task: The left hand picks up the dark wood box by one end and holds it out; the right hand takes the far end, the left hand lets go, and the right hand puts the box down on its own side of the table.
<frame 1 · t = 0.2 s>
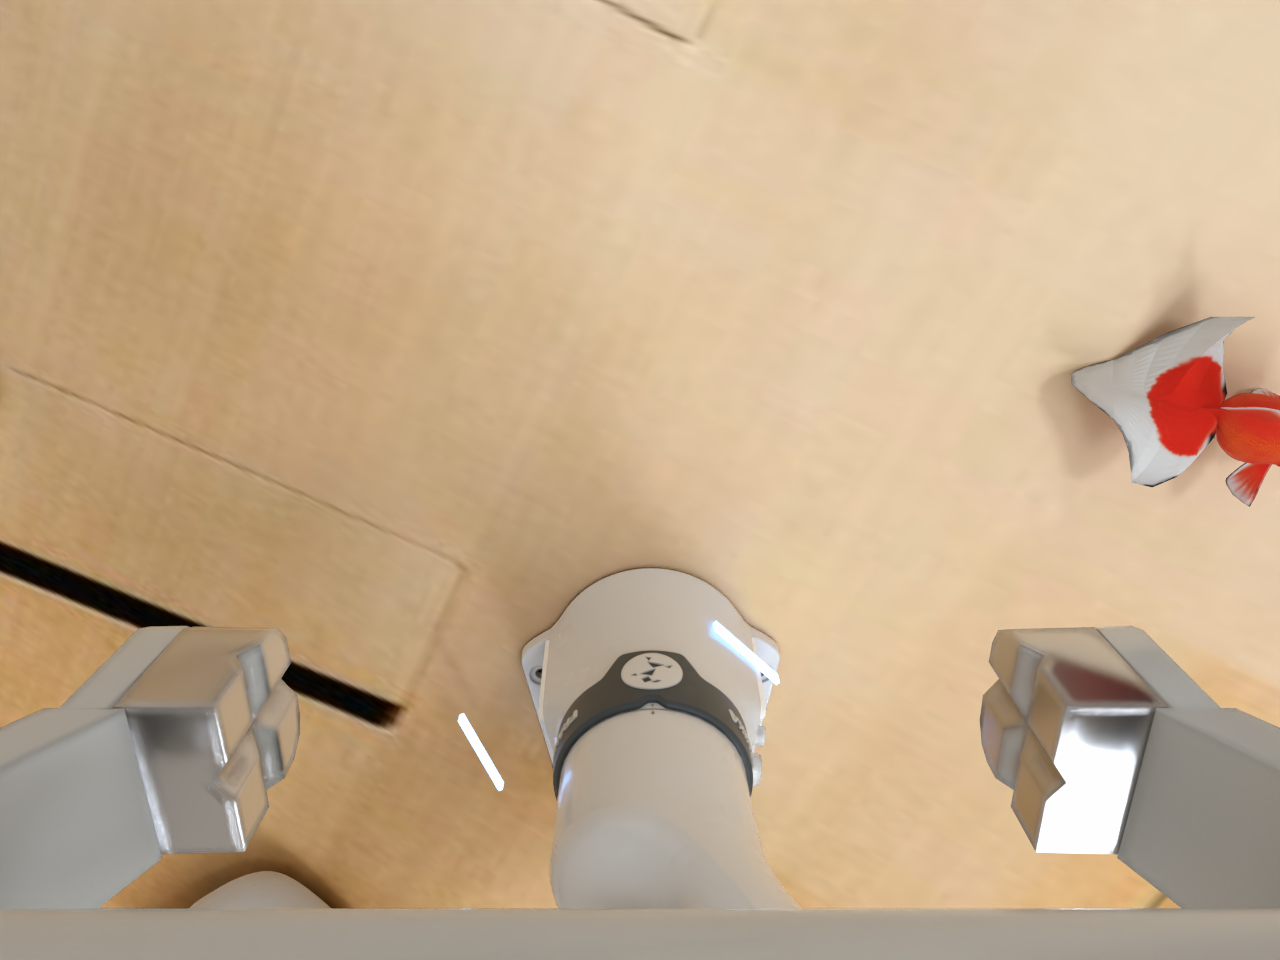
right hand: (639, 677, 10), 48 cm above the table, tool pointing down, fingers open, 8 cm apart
fish: (1167, 398, 59), on the table
grey rounded piece: (305, 953, 77), on the table
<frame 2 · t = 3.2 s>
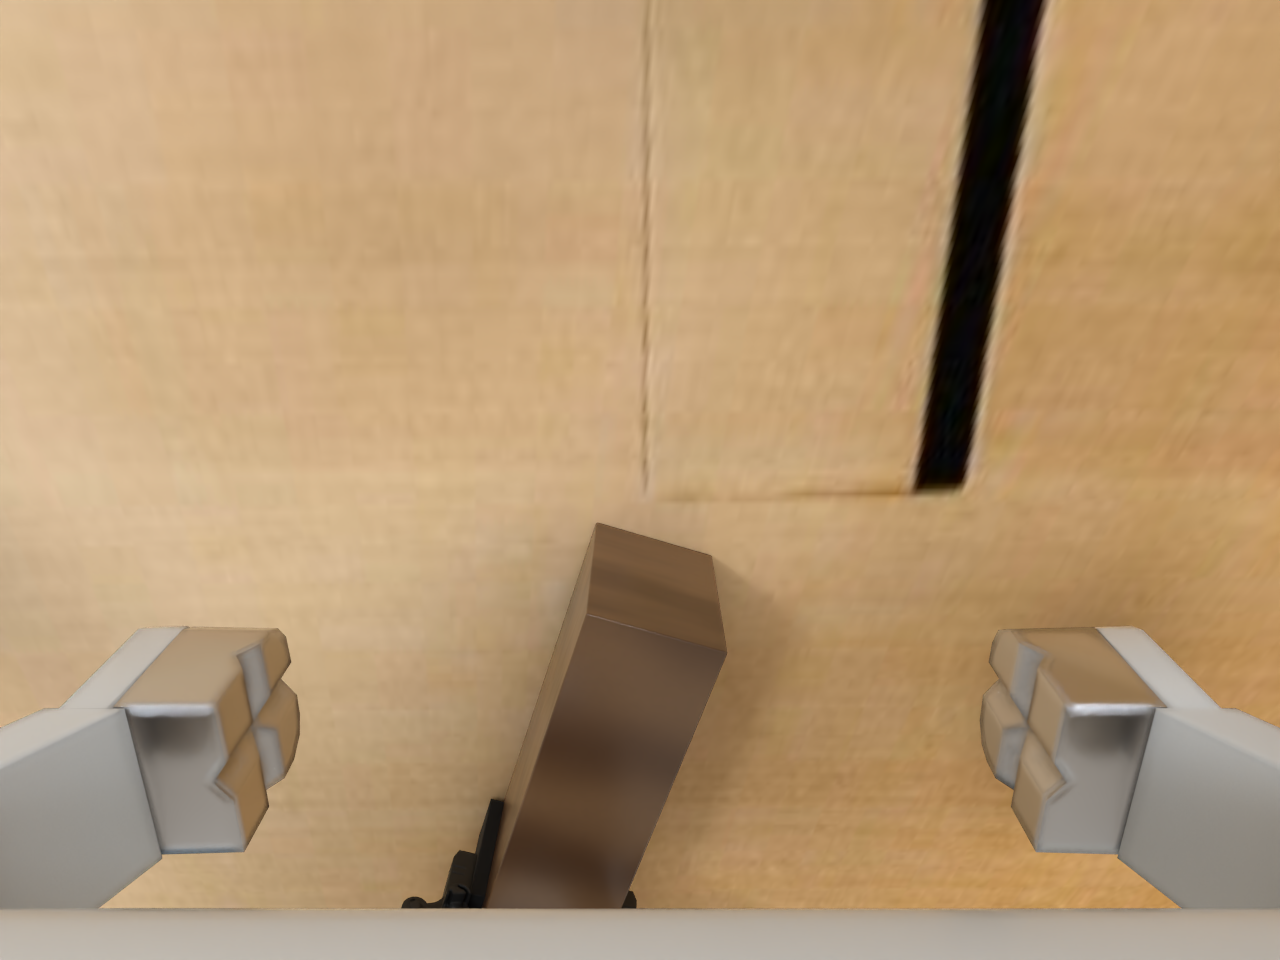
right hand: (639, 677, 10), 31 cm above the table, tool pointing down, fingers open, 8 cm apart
box: (589, 719, 48), on the table, touching left hand
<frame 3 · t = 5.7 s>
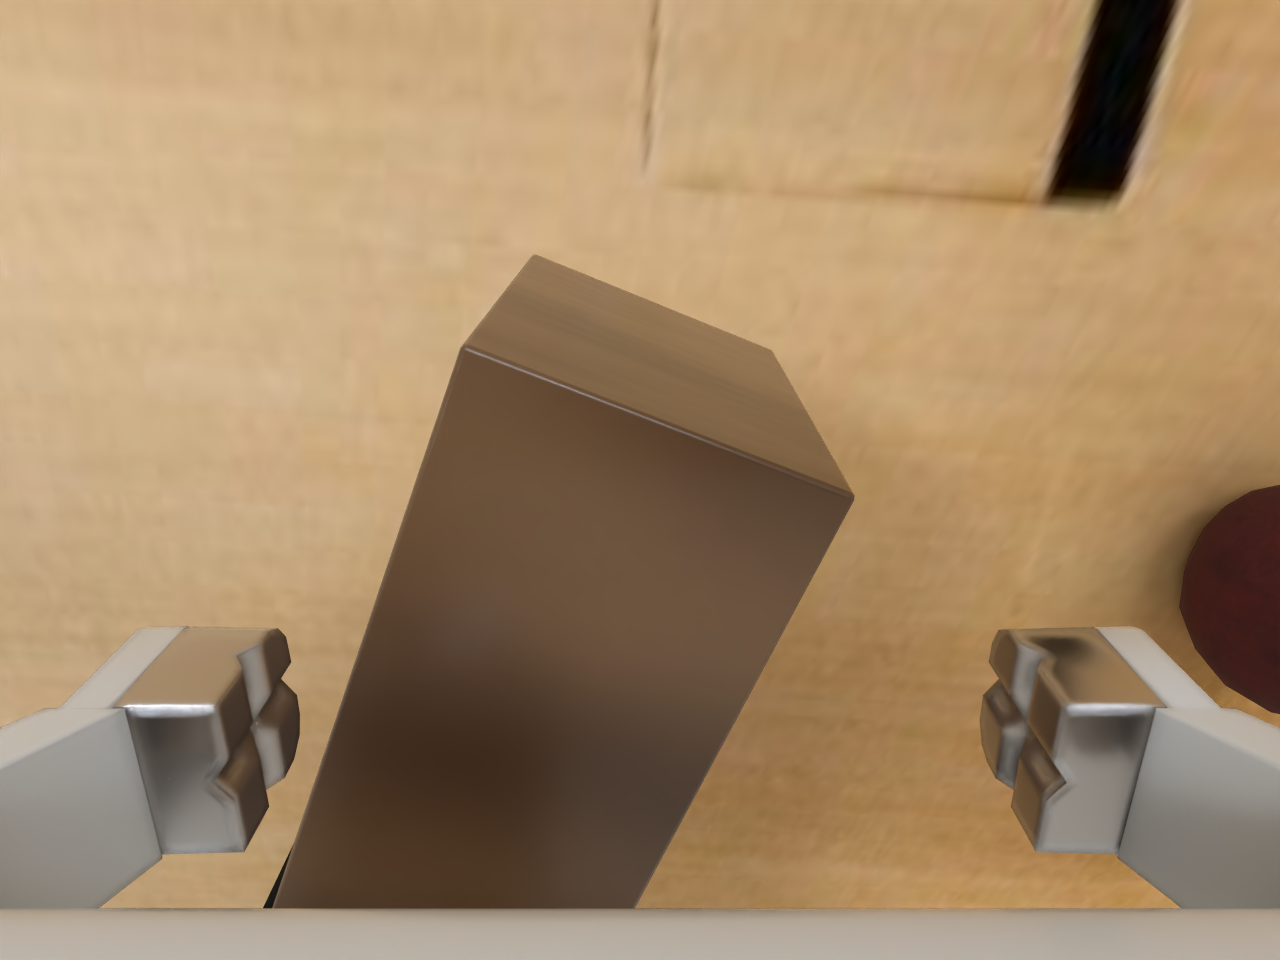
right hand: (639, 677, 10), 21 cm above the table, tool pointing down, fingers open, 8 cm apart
potato: (1238, 548, 33), on the table
box: (499, 683, 24), point 9 cm above the table, touching left hand
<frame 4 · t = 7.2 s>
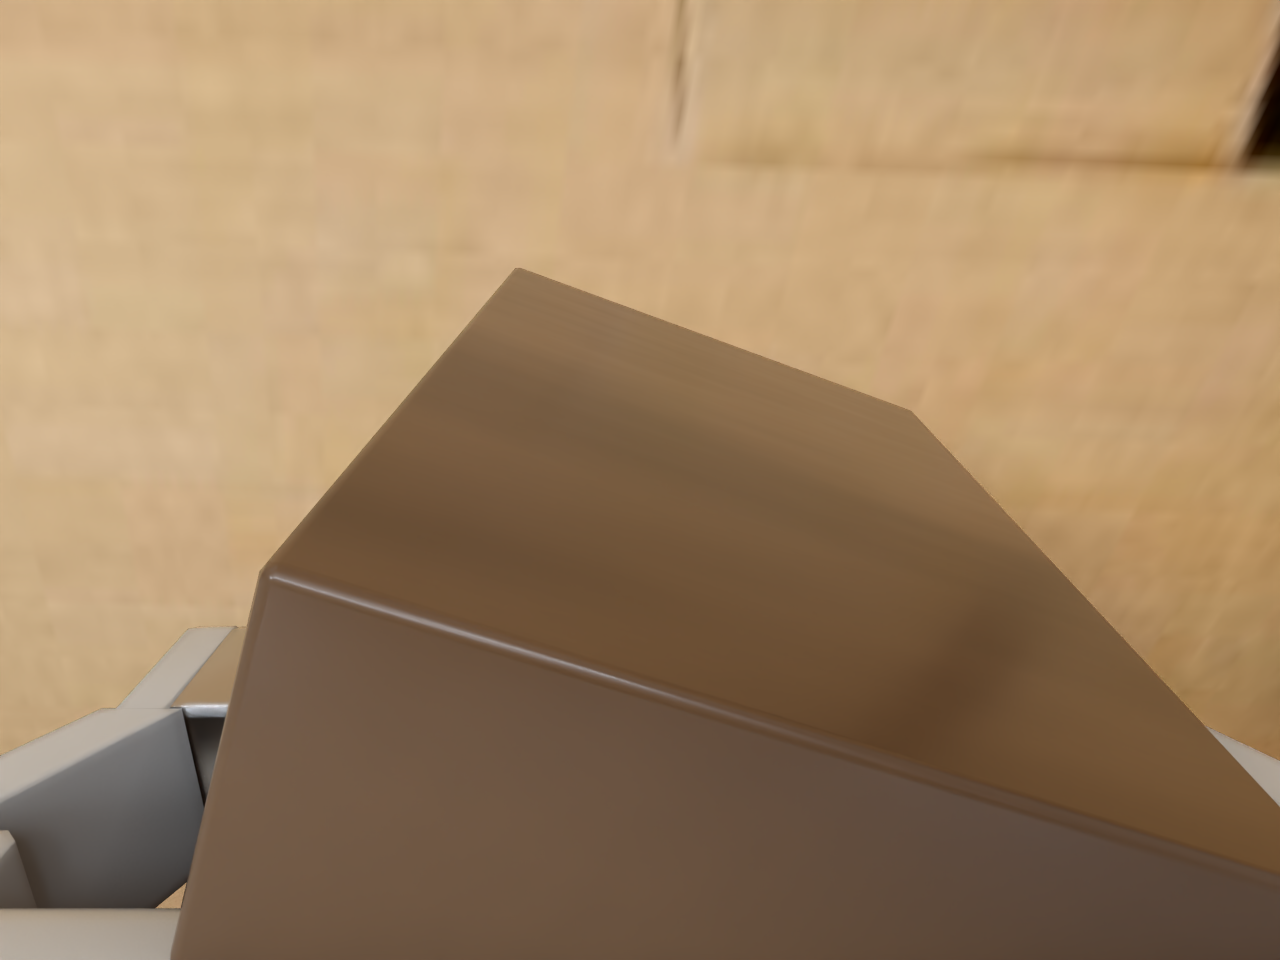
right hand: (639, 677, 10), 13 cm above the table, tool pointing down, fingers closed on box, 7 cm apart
box: (490, 909, 16), point 9 cm above the table, touching right hand, left hand
when the left hand's fingers open (10 cm above the table, at t = 8.2 s): box stays where it is, held by the right hand.
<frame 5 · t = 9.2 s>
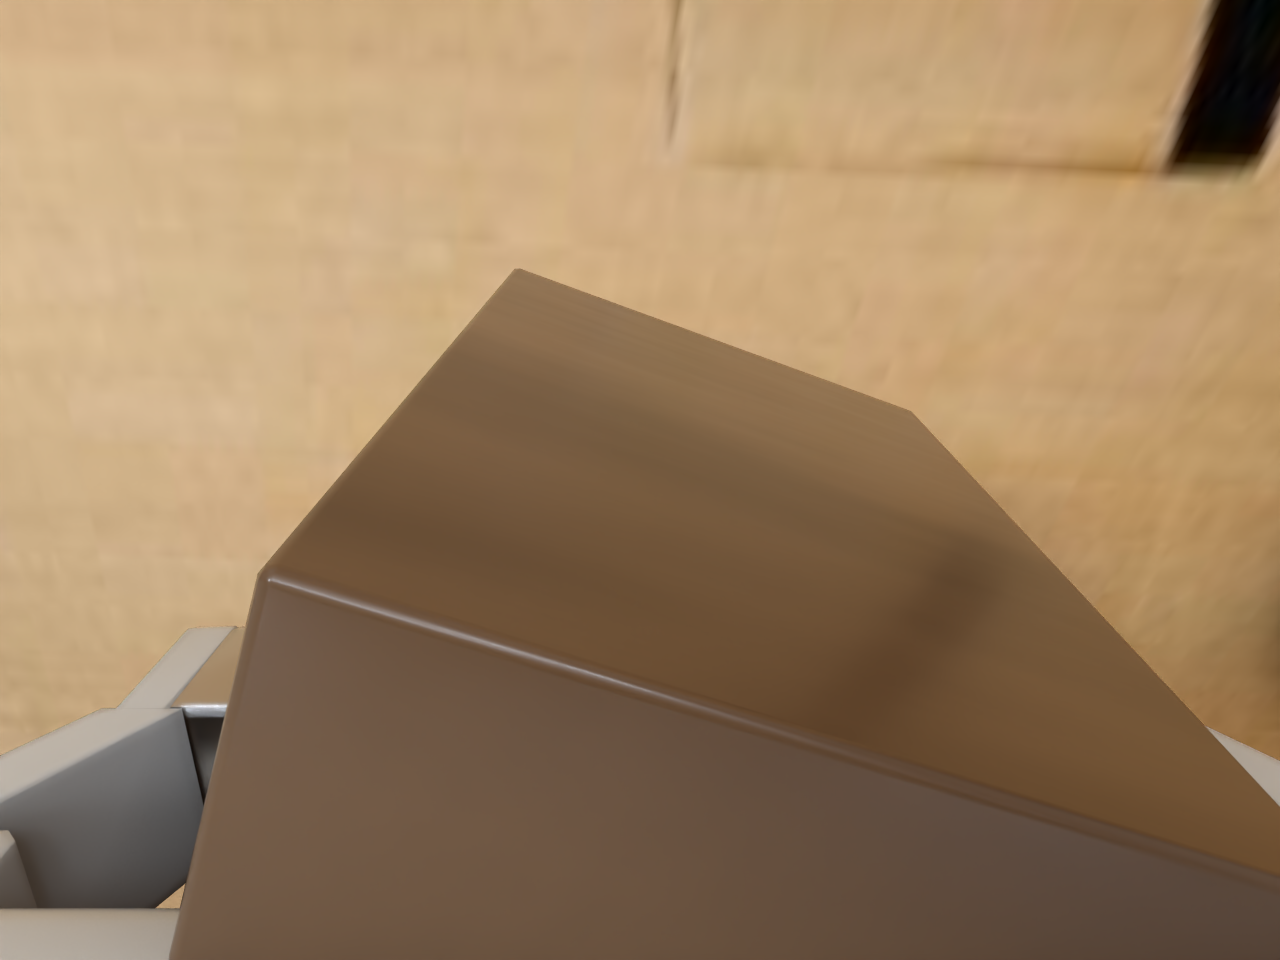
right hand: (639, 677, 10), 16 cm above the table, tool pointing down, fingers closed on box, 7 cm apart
box: (490, 910, 16), point 12 cm above the table, touching right hand
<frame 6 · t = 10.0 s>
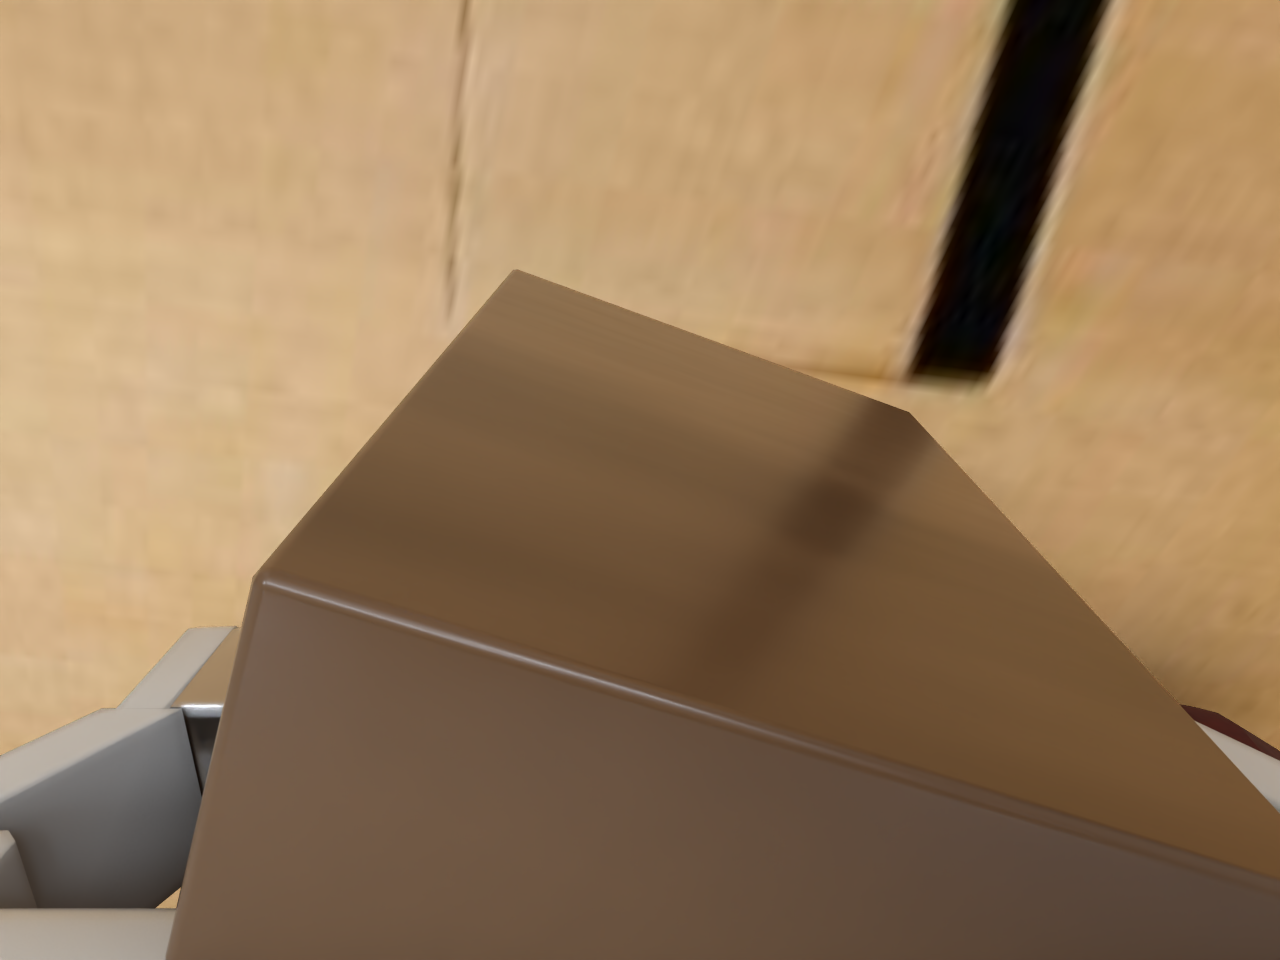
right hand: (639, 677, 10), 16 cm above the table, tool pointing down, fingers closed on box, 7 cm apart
potato: (1118, 752, 30), on the table
box: (488, 911, 16), point 12 cm above the table, touching right hand
when the right hand's fingers open (5 cm above the table, at t = 13.3 s): box stays where it is, resting on potato.
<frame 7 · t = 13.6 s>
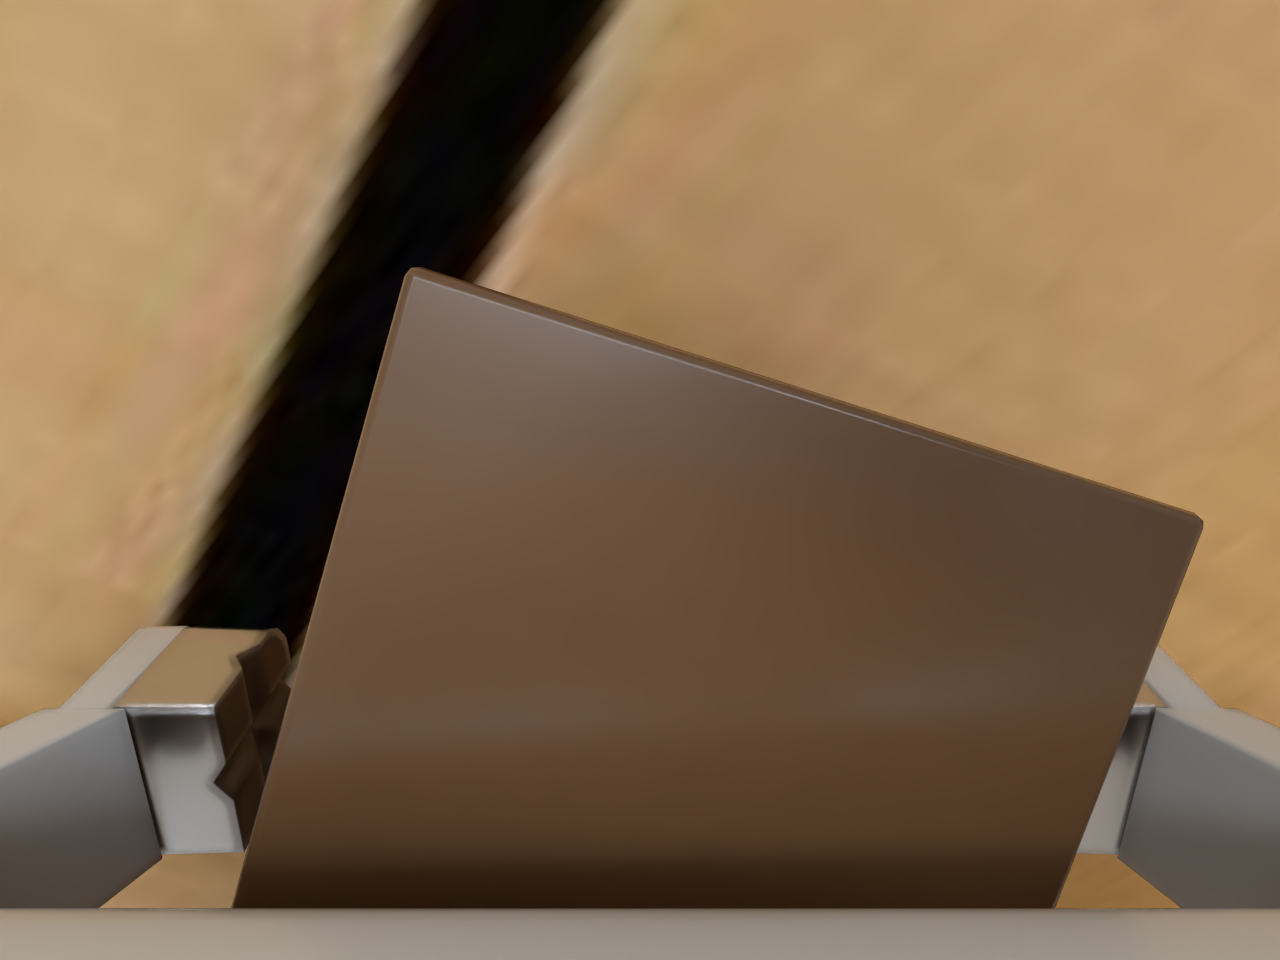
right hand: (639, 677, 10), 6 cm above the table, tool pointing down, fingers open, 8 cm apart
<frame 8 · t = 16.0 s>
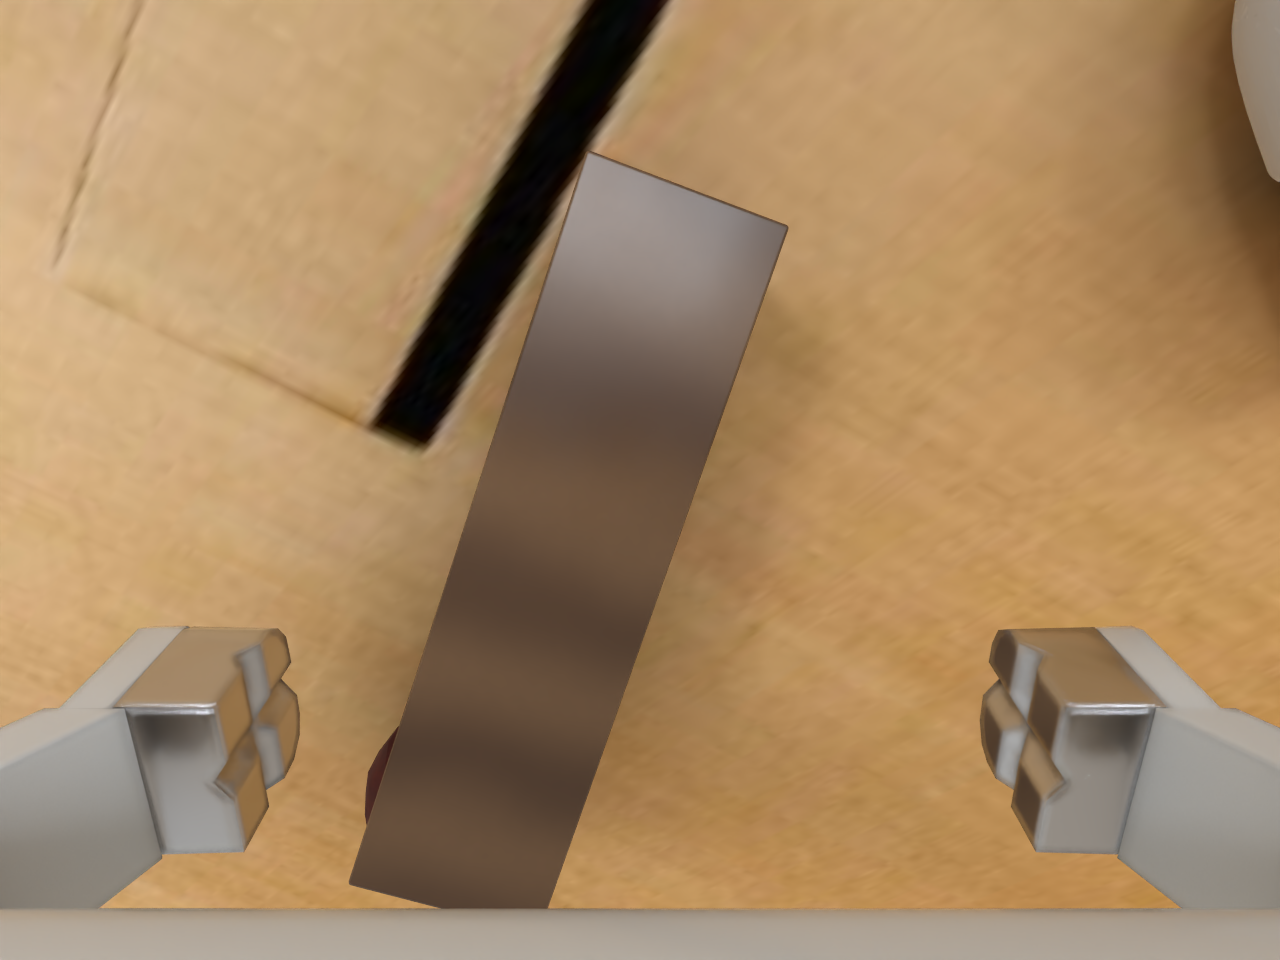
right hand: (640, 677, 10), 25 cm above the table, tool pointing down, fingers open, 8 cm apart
potato: (470, 735, 42), on the table, touching box
box: (561, 511, 34), point 3 cm above the table, tilted 14°, touching potato
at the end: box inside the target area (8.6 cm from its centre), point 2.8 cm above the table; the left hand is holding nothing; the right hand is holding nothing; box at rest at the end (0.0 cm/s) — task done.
